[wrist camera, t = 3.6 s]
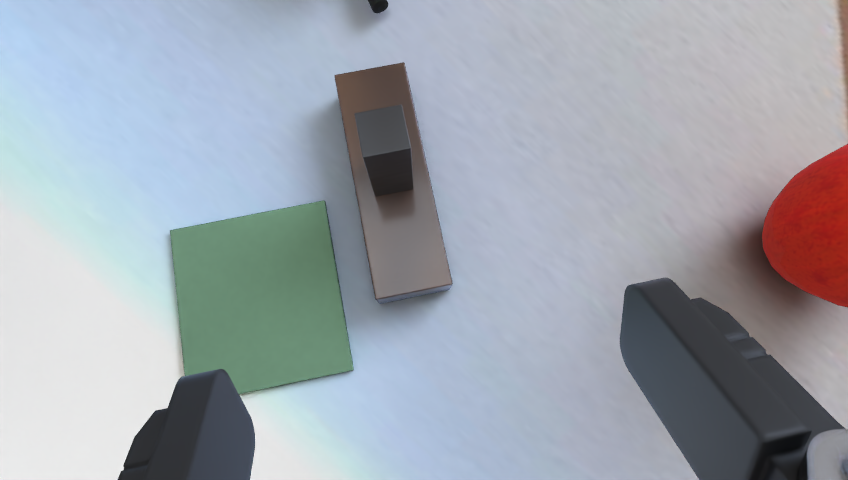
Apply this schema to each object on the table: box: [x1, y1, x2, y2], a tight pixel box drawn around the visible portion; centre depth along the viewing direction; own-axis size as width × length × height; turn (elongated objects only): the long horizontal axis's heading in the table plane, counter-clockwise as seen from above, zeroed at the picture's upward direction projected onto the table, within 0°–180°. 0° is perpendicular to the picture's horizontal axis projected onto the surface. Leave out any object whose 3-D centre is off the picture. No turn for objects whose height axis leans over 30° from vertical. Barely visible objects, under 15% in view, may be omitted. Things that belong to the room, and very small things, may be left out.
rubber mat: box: [170, 201, 354, 394], centre depth 34 cm, size 11×12×1 cm
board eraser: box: [335, 63, 452, 304], centre depth 31 cm, size 5×16×10 cm, turn 12°
